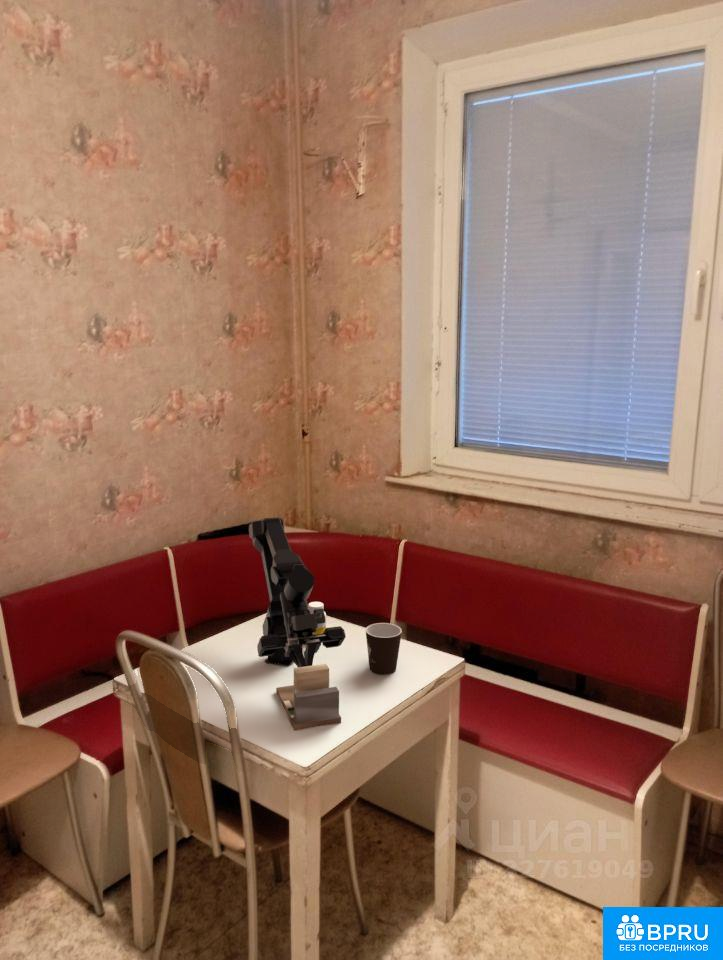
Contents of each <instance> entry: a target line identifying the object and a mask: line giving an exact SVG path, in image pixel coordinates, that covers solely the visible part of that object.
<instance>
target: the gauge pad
mask: <svg viewBox="0 0 723 960" xmlns="http://www.w3.org/2000/svg"><path fill="white" fill-rule="evenodd" d="M293 685H294V693H298V692H304V691H311V690H317V689H324V688H330V667H328V664H327V663H319V664H314V665H312V666H305V667H294V668H293ZM292 710H294V707H290V708H288V711H292Z"/></svg>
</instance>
